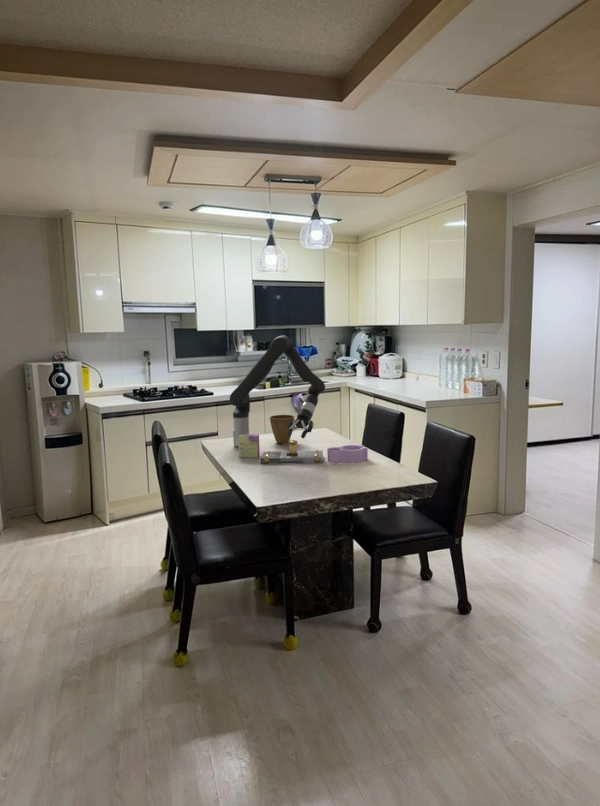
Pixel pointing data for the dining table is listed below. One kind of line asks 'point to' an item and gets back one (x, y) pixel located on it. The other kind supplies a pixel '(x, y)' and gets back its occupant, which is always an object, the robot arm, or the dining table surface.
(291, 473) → the dining table surface
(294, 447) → the master link pin
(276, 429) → the plant pot
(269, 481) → the dining table surface
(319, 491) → the dining table surface
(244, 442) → the box
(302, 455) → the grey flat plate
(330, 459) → the purple cup holder
